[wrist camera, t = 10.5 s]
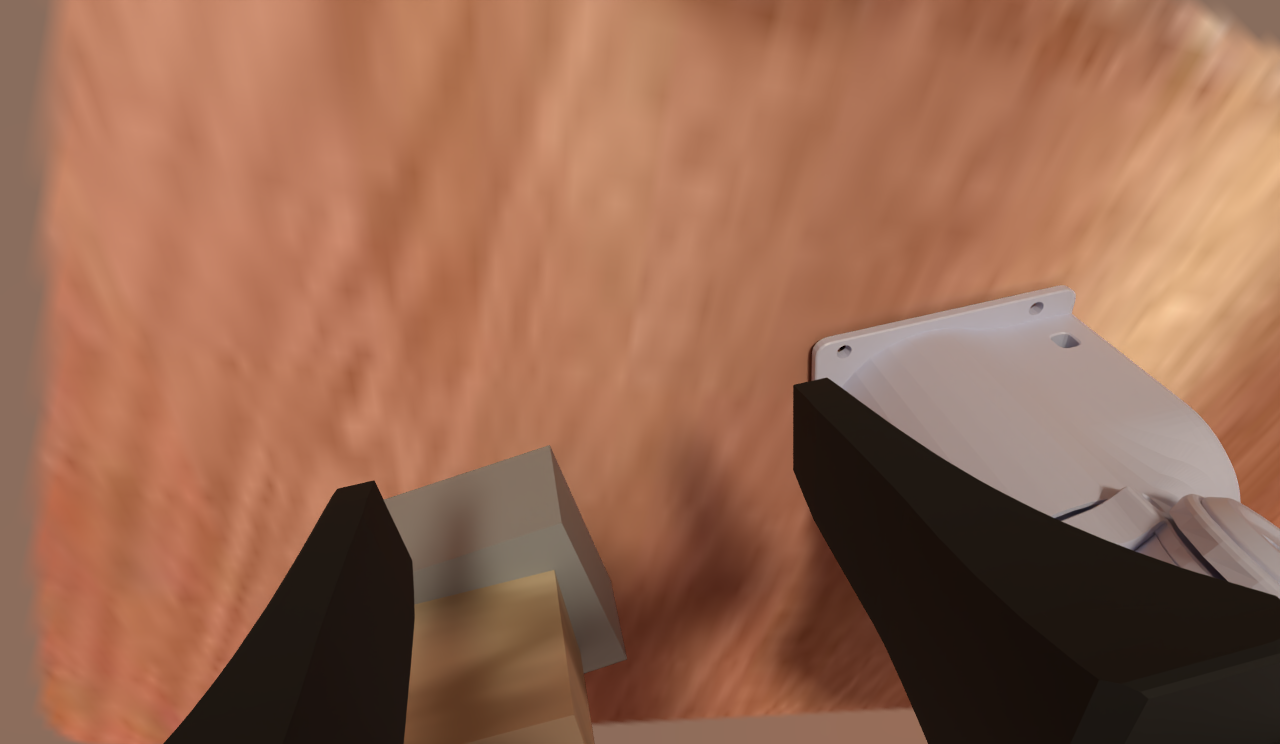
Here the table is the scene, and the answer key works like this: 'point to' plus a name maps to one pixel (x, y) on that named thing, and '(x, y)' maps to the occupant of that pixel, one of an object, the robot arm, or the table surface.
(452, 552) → the slate base block
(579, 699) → the maple cube
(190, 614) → the table surface
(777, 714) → the table surface
